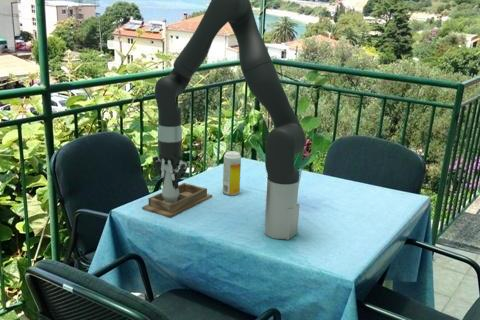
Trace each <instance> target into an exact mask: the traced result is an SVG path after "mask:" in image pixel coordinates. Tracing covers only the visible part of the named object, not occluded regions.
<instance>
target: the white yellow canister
mask: <svg viewBox="0 0 480 320" xmlns="http://www.w3.org/2000/svg"><path fill="white" fill-rule="evenodd" d="M241 163H242V156H241V153H240V152H238V151H234V150H233V151H231V150H230V151H226V152H224V155H223V171H222V172H223V173H222V176H223V177H222V178H223V179H222V192H223V193H224V195H226V196H231V197H232V196H236V195H238V194H239V193H240V187H241V167H242V166H241Z"/></svg>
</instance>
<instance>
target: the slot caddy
mask: <svg viewBox="0 0 480 320" xmlns="http://www.w3.org/2000/svg"><path fill="white" fill-rule="evenodd" d="M178 189H179V197H178V199H177V201H175V202H172V203H168V202H165V201H164V199H163V197H162V192H160V193H157V194H155V195H152V196H151V197H148V199H147V200H148V201H147V202H148V203H147V204H146V205H144V206H141V209H142V210H144V211H147V212H148V213H149V212H150V213H152V214H156V215H159V216H162V217H165V218H169V219H172V218H174V217H176V216H178V215H180V214H182V213H184V212H186V211H188V210H190V209H192V208H194V207H195V206H198V205H200V204H202V203H204V202H206V201H208V200H209V199H211V198H213V194H210V193H208V188H206V187H201V186H197V185H196V184H195V185H194V184H191V183H186V182H182V183H181V184H178Z"/></svg>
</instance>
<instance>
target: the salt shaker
mask: <svg viewBox="0 0 480 320" xmlns="http://www.w3.org/2000/svg"><path fill="white" fill-rule="evenodd" d="M164 170H165V171H166V174H165V180H164V184H163V185H162V191H161V193H162V197H163V199H164V201H165V202H168V203H172V202H175V201H177V199H178V197H179V189H178V188H177V189H175V187H174V188H173V185H172V176H171V173H170V168H169V165H168V164H165V166H164ZM173 170H177V168H176V169H173ZM175 176H176V175H175Z"/></svg>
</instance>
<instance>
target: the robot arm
mask: <svg viewBox="0 0 480 320" xmlns="http://www.w3.org/2000/svg"><path fill="white" fill-rule="evenodd" d="M227 23H228V24H229V26H230V28H231V29H232V32H233V34H234V36H235V39H236V42H237V45H238V53H239V55H238V57H239V65H240V70H241V72H242V75H243V77H244V78H243V79H244V80H245V82H246V85H247V87H248V89H249V91H250V92H251V94H252V95H253V97H255V99H256V100H257V101H258V102H259V103H260V104H261V105H262V106H263V107H264V109H265V110H266V111H267V113H268V114H269V116H270V118H271V121H272V122H273V125H274V128H273V129H272V130H270V131H269V133H268V134H267V136H266V139H265V140H266V141H265V150H264V151H265V153H264V155H265V156H264V157H265V158H264V159H265V160H264V161H265V165H264V166H265V171H266V173H267V177H266V178H267V179H266V193H265V195H266V197H265V213H264V233H265V235H266V236H267V237H269V238H273V239H278V240H287V241H289V240H290V239H292V238H293V237H294V236H296V235H297V234H298V232H299V231H298V229H299V217H300V215H299V214H300V204H299V203H298V197H299V196H298V194H299V182H300V172H299V169H297V168H296V167H295V156H297V154H300V153H301V152H303V151H304V149H305V147H306V144H307V137H306V134H305V131H304V128H303V126H302V125H301V123H300V120H299V119H298V117H297V115H296V114H295V112H294V110H293V107H292V106H291V104H290V101H289V99H288V96H287V94H286V91H285V89H284V87H283V85H282V83H281V80H280V78H279V74H278V71H277V69H276V67H275V64H274V62H273V60H272V57H271V56H270V53H269V51H268V48H267V45H266V44H265V41H264V39H263V38H262V35H261V33H260V31H259V28H258V25H257V21H256V18H255V14H254V11H253V7H252V3H251V2H250V0H210V2H209V4H208V6H207V8H206V11H205V13H204V14H203V16H202V18H201V20H200V22H199V24H198V25H197V27H196V29H195V31H194V33H192V34H193V35H192V36H191V37H190V39H189V40H188V42H187V43H186V45H185V46H184V48H182V50H181V51H180V53H179V54H178V56H177V57H176V58H175V60H174V62H173V68H172V70H171V71H170V72H169V74H168V75H166V76H162V77H160V78H159V79H158V80H157V81H156V82H155V85H154V97H155V101H156V106H157V110H158V131H157V133H158V134H157V141H158V143H157V144H158V145H157V147H158V149H157V150H158V153H159V154H158V155H156V156H154V157H152V162H153V165H154V168H155V171H156V174H157V175H158V176H159V175H160V176H161V182H162V184H161V185H162V186H163V184H164V180H165V174H166V171H165V170H164V166H165V164H168V165H169V168H170V173H171V176H172V185H173V188H174V187H175V189H177V188H178V185H179V180H181V179H183V178H184V177H185V174H186V172H187V170H188V167H189V163H188V162H185V161H184V160H183V159H182V156H181V154H182V152H183V151H182V150H183V147H182V146H183V131H182V130H183V129H182V110H181V108H180V107H179V106H178V105H177V97H179V96H181V94H183V92H185V90H186V89H187V87H188V86H189V84H190V81H191V80H192V77H193V76H194V74H195V73H196V72H197V71H198V69H199V68H200V67H201V65H202V64H203V63H204V61H205V60H206V58H207V56H208V54H209V52H210V49H211V47H212V43H213V42H214V40H215V38H216V36H217V34H218V33H219V32H220V30H221V29H223V28H224V27H225V25H227ZM176 168H177V170H173V169H176ZM175 175H176V176H175Z"/></svg>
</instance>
